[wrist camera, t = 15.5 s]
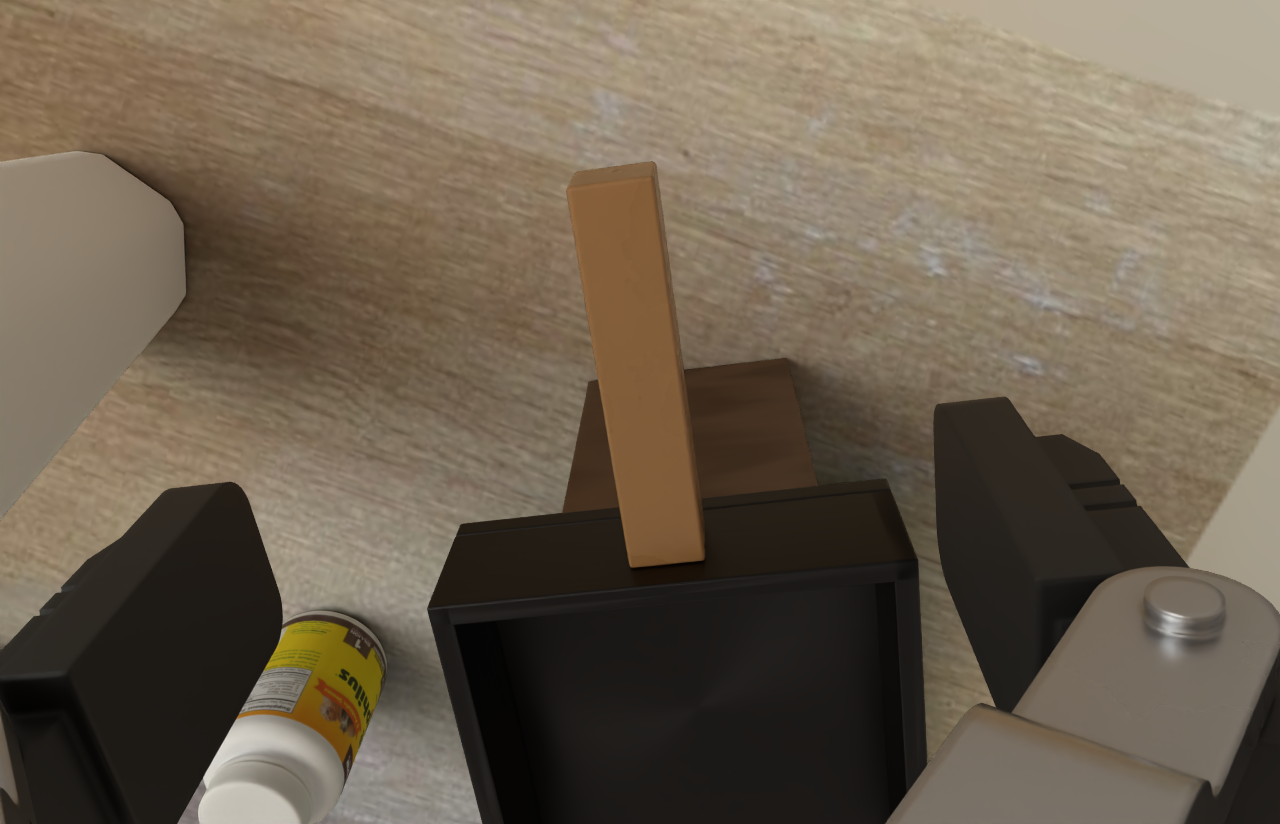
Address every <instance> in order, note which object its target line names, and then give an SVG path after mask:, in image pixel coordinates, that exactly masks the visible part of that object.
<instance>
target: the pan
mask: <svg viewBox="0 0 1280 824" xmlns="http://www.w3.org/2000/svg"><path fill="white" fill-rule="evenodd" d="M566 192H567V198H568V204H569V210H570V216H571V221H572V227H573V233H574V239H575V245H576V251H577V257H578V263H579V269H580V275H581V281H582V287H583V293H584V299H585V305H586V311H587V317H588V323H589V329H590V335H591V341H592V347H593V353H594V359H595V364H596V370H597V376H598V382H599V388H600V394H601V400H602V406H603V412H604V418H605V424H606V430H607V436H608V442H609V448H610V454H611V460H612V466H613V472H614V478H615V484H616V490H617V496H618V502H619V507H614V508H605V509H595V510H586V511H577V512H567V513H558V514H548V515H539V516H530V517H520V518H511V519H502V520H492V521H483V522H474V523H464V524H461V525H460V527H459V530H458V532H457V535H456V537H455V539H454V542H453V544H452V547H451V549H450V552H449V554H448V557H447V560H446V562H445V565H444V567H443V570H442V572H441V575H440V577H439V580H438V582H437V585H436V587H435V590H434V592H433V595H432V597H431V600H430V602H429V605H428V608H427V610H428V614H429V618H430V622H431V626H432V630H433V634H434V638H435V641H436V645H437V649H438V653H439V657H440V661H441V665H442V669H443V672H444V676H445V680H446V684H447V688H448V692H449V696H450V700H451V704H452V707H453V711H454V715H455V719H456V723H457V727H458V731H459V735H460V738H461V742H462V746H463V750H464V754H465V758H466V762H467V766H468V769H469V773H470V777H471V781H472V785H473V789H474V793H475V797H476V800H477V804H478V808H479V812H480V816H481V820H482V824H885V823H886V822H887V820H888V819H889V818H890V816H891V815H892V813H893V812H894V811H895V809H896V808H897V807H898V805H899V804H900V802H901V801H902V800H903V798H904V797H905V795H906V794H907V793H908V791H909V790H910V789H911V787H912V786H913V784H914V783H915V782H916V780H917V779H918V777H919V776H920V775H921V773H922V772H923V771H924V769H925V768H926V766H927V743H926V721H925V699H924V678H923V656H922V634H921V612H920V590H919V568H918V559H917V556H916V553H915V551H914V548H913V546H912V543H911V540H910V538H909V535H908V533H907V530H906V528H905V525H904V522H903V520H902V517H901V515H900V512H899V510H898V507H897V504H896V502H895V499H894V497H893V494H892V492H891V489H890V487H889V484H888V481H887V480H886V479H876V480H866V481H857V482H848V483H838V484H829V485H820V486H810V487H801V488H792V489H782V490H773V491H764V492H754V493H745V494H735V495H726V496H717V497H707V498H701V495H700V487H699V480H698V472H697V465H696V457H695V450H694V442H693V435H692V427H691V420H690V412H689V405H688V398H687V390H686V383H685V375H684V368H683V360H682V353H681V345H680V338H679V330H678V323H677V315H676V308H675V300H674V293H673V285H672V278H671V270H670V263H669V255H668V248H667V240H666V233H665V225H664V218H663V211H662V203H661V196H660V188H659V181H658V173H657V166H656V163H655V162H652V161H651V162H643V163H636V164H629V165H621V166H614V167H607V168H599V169H592V170H585V171H578V172H576V173H575V174H574V176H573V178H572V180H571V182H570V184H569V185H568V187H567V191H566Z"/></svg>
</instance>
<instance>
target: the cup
mask: <svg viewBox="0 0 1280 824" xmlns="http://www.w3.org/2000/svg"><path fill="white" fill-rule="evenodd" d="M185 295H186V276H185V251H184V227H183V223H182V221H181V219H180V217H179V216H178V214H177V212H176V211H175V209H174V207H173V205H172V204H171V202H170V201H169V200H167V199H166V198H164V197H163V196H162V195H160V194H159V193H157V192H156V191H154V190H153V189H152V188H150V187H149V186H147V185H146V184H144V183H143V182H141V181H140V180H139V179H137V178H136V177H134V176H133V175H131V174H130V173H128V172H127V171H126V170H124V169H123V168H121V167H120V166H118V165H117V164H116V163H114V162H113V161H111V160H110V159H108V158H107V157H105V156H104V155H102V154H95V153H88V152H82V151H73V152H66V153H59V154H52V155H45V156H38V157H31V158H24V159H17V160H10V161H3V162H0V520H1V519H2V518H3V517H4V516H5V514H6V513H7V512H8V511H9V510H10V509H11V507H12V506H13V505H14V504H15V503H16V501H17V500H18V499H19V498H20V497H21V495H22V494H23V493H24V492H25V491H26V489H27V488H28V487H29V486H30V485H31V483H32V482H33V481H34V480H35V479H36V477H37V476H38V475H39V474H40V473H41V471H42V470H43V469H44V468H45V467H46V465H47V464H48V463H49V462H50V461H51V460H52V458H53V457H54V456H55V455H56V454H57V452H58V451H59V450H60V449H61V448H62V446H63V445H64V444H65V443H66V442H67V440H68V439H69V438H70V437H71V436H72V434H73V433H74V432H75V431H76V430H77V428H78V427H79V426H80V425H81V424H82V422H83V421H84V420H85V419H86V418H87V417H88V415H89V414H90V413H91V412H92V411H93V409H94V408H95V407H96V406H97V405H98V403H99V402H100V401H101V400H102V399H103V397H104V396H105V395H106V394H107V393H108V391H109V390H110V389H111V388H112V387H113V385H114V384H115V383H116V382H117V381H118V379H119V378H120V377H121V376H122V375H123V373H124V372H125V371H126V370H127V369H128V368H129V366H130V365H131V364H132V363H133V362H134V360H135V359H136V358H137V357H138V356H139V354H140V353H141V352H142V351H143V350H144V348H145V347H146V346H147V345H148V344H149V342H150V341H151V340H152V339H153V338H154V336H155V335H156V334H157V333H158V332H159V330H160V329H161V328H162V327H163V326H164V325H165V323H166V322H167V321H168V320H169V319H170V317H171V316H172V315H173V314H174V313H175V311H176V310H177V308H178V306H179V305H180V303H181V302H182V300H183V298H184V297H185Z"/></svg>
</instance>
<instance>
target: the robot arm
mask: <svg viewBox="0 0 1280 824" xmlns="http://www.w3.org/2000/svg"><path fill="white" fill-rule="evenodd" d="M934 459H935V490H936V521H937V538H938V547H939V554H940V559H941V564H942V569H943V573H944V577H945V580H946V583H947V586H948V589H949V591H950V594H951V596H952V599H953V601H954V604H955V606H956V609H957V611H958V613H959V616H960V618H961V621H962V623H963V626H964V628H965V631H966V633H967V636H968V638H969V641H970V643H971V646H972V648H973V651H974V653H975V656H976V658H977V661H978V663H979V666H980V668H981V671H982V673H983V676H984V678H985V681H986V683H987V686H988V688H989V691H990V693H991V696H992V698H993V701H994V703H995V706H996V707H993V706H990V705H987V704H984V703H980V704H977V705H975V706H973V707H972V708H970V709H969V710H968V711H967V712H966V713H965V714H964V716H963V717H962V718H961V719H960V721H959V722H958V723H957V725H956V726H955V728H954V729H953V730H952V732H951V733H950V734H949V736H948V737H947V739H946V740H945V741H944V743H943V744H942V746H941V747H940V748H939V750H938V751H937V752H936V754H935V755H934V757H933V758H932V759H931V761H930V762H929V764H928V765H927V766H926V768H925V769H924V771H923V772H922V773H921V775H920V776H919V777H918V779H917V780H916V782H915V783H914V784H913V786H912V787H911V789H910V790H909V791H908V793H907V794H906V795H905V797H904V798H903V800H902V801H901V802H900V804H899V805H898V807H897V808H896V809H895V811H894V812H893V813H892V815H891V816H890V818H889V819H888V820H887V822H886V823H885V824H1280V614H1279V612H1278V611H1277V610H1276V609H1275V607H1274V606H1273V605H1272V604H1271V603H1270V602H1269V601H1268V600H1267V599H1266V598H1264V597H1263V596H1262V595H1260V594H1259V593H1257V592H1256V591H1255V590H1253V589H1251V588H1250V587H1248V586H1246V585H1244V584H1242V583H1240V582H1237V581H1235V580H1233V579H1230V578H1227V577H1225V576H1222V575H1218V574H1215V573H1211V572H1208V571H1202V570H1197V569H1192V568H1189V566H1188V565H1187V564H1186V563H1185V561H1184V560H1183V559H1182V558H1181V556H1180V555H1179V554H1178V553H1177V551H1176V550H1175V549H1174V548H1173V546H1172V545H1171V544H1170V542H1169V541H1168V540H1167V539H1166V537H1165V536H1164V535H1163V534H1162V532H1161V531H1160V530H1159V529H1158V527H1157V526H1156V525H1155V524H1154V522H1153V521H1152V520H1151V518H1150V517H1149V516H1148V515H1147V513H1146V512H1145V511H1144V510H1143V508H1142V507H1141V506H1137V503H1136V500H1135V498H1134V497H1133V496H1132V494H1131V493H1130V492H1129V491H1128V489H1127V488H1126V487H1125V486H1124V484H1123V485H1120V479H1119V478H1118V477H1117V476H1116V474H1115V473H1114V472H1113V470H1112V469H1111V468H1110V467H1109V465H1108V464H1107V463H1106V462H1105V460H1104V459H1103V458H1102V457H1101V455H1100V454H1099V453H1097V452H1095V451H1093V450H1091V449H1089V448H1087V447H1085V446H1083V445H1082V444H1080V443H1078V442H1076V441H1074V440H1072V439H1070V438H1068V437H1066V436H1065V435H1063V434H1059V435H1050V436H1041V437H1035V436H1034V435H1033V433H1032V432H1031V430H1030V429H1029V428H1028V426H1027V425H1026V423H1025V422H1024V420H1023V419H1022V417H1021V416H1020V415H1019V413H1018V412H1017V410H1016V409H1015V407H1014V406H1013V404H1012V403H1011V402H1010V400H1009V399H1008V398H1007V397H996V398H987V399H978V400H969V401H961V402H952V403H943V404H937V405H936V407H935V411H934ZM61 589H62V591H61V593H55V595H54V596H53V597H52V598H51V599H50V600H49V601H48V602H47V603H46V604H45V605H44V606H43V607H42V608H41V609H40V610H39V611H40V616H34V617H33V618H32V619H31V620H30V621H29V622H28V623H27V624H26V625H25V626H24V627H23V628H22V629H21V631H20V632H19V633H18V634H17V635H16V636H15V637H14V638H13V639H12V640H11V641H10V642H9V643H8V644H7V645H6V646H5V647H4V649H3V650H2V651H1V652H0V824H177V823H178V821H179V819H180V817H181V816H182V814H183V812H184V810H185V809H186V807H187V805H188V803H189V802H190V800H191V798H192V796H193V794H194V793H195V791H196V789H197V787H198V786H199V784H200V782H201V780H202V779H203V777H204V775H205V773H206V771H207V770H208V768H209V766H210V764H211V763H212V761H213V759H214V757H215V756H216V754H217V752H218V750H219V749H220V747H221V745H222V743H223V741H224V740H225V738H226V736H227V734H228V733H229V731H230V729H231V727H232V726H233V724H234V722H235V720H236V719H237V717H238V715H239V713H240V711H241V710H242V708H243V706H244V704H245V703H246V701H247V699H248V697H249V696H250V694H251V692H252V690H253V688H254V687H255V685H256V683H257V681H258V680H259V678H260V676H261V674H262V673H263V671H264V669H265V667H266V666H267V664H268V662H269V660H270V658H271V657H272V655H273V653H274V651H275V650H276V648H277V645H278V643H279V640H280V636H281V631H282V621H283V613H282V602H281V597H280V593H279V590H278V587H277V584H276V581H275V578H274V575H273V572H272V569H271V566H270V563H269V560H268V557H267V554H266V551H265V548H264V545H263V542H262V539H261V536H260V533H259V530H258V527H257V524H256V521H255V518H254V515H253V512H252V509H251V506H250V503H249V501H248V498H247V496H246V494H245V492H244V491H243V490H242V488H241V487H240V486H239V485H237V484H236V483H233V482H225V483H216V484H207V485H198V486H189V487H180V488H171V489H168V490H166V491H164V492H163V493H162V494H161V495H160V496H159V497H158V498H157V499H156V500H155V501H154V503H153V504H152V505H151V506H150V507H149V508H148V509H147V510H146V511H145V512H144V513H143V514H142V516H141V517H140V518H139V519H138V520H137V521H136V522H135V523H134V524H133V525H132V526H131V527H130V529H129V530H128V531H127V532H126V533H125V534H124V535H123V536H122V537H121V538H120V539H118V540H117V541H115V542H114V543H112V544H111V545H109V546H108V547H106V548H105V549H103V550H102V551H100V552H98V553H97V554H95V555H94V556H92V557H91V558H89V559H88V560H87V561H86V562H85V563H84V564H83V565H82V566H81V567H80V568H79V569H78V570H77V571H76V572H75V573H74V574H73V575H72V577H71V578H70V579H69V580H68V581H67V582H66V583H65V584H64V585H63V586H62V587H61Z"/></svg>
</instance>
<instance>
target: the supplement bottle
mask: <svg viewBox="0 0 1280 824" xmlns="http://www.w3.org/2000/svg"><path fill="white" fill-rule="evenodd" d="M386 675H387V660H386V656H385V653H384V650H383V648H382V646H381V644H380V642H379V640H378V639H377V638H376V636H375V635H374V634H373V633H372V632H371V631H370V630H369V629H368V628H367V627H366V626H364V625H363V624H362V623H360V622H358V621H357V620H355V619H353V618H351V617H349V616H346V615H343V614H340V613H336V612H331V611H311V612H305V613H302V614H299V615H296V616H294V617H292V618H290V619H288V620H287V621H285V622H284V623H283V624H282V631H281V636H280V640H279V643H278V645H277V648H276V650H275V651H274V653H273V655H272V657H271V658H270V660H269V662H268V664H267V666H266V667H265V669H264V671H263V673H262V674H261V676H260V678H259V680H258V681H257V683H256V685H255V687H254V688H253V690H252V692H251V694H250V696H249V697H248V699H247V701H246V703H245V704H244V706H243V708H242V710H241V711H240V713H239V715H238V717H237V719H236V720H235V722H234V724H233V726H232V727H231V729H230V731H229V733H228V734H227V736H226V738H225V740H224V741H223V743H222V745H221V747H220V749H219V750H218V752H217V754H216V756H215V757H214V759H213V761H212V763H211V764H210V766H209V768H208V770H207V771H206V773H205V775H204V777H203V779H204V783H205V786H206V788H207V791H206V792H205V794H204V796H203V798H202V800H201V802H200V805H199V810H198V816H199V822H200V824H315V823H317V822H318V821H320V820H322V819H323V818H324V817H325V816H326V815H328V814H329V812H330V811H331V810H332V809H333V808H334V806H335V805H336V803H337V801H338V799H339V797H340V795H341V793H342V791H343V788H344V785H345V783H346V780H347V778H348V775H349V773H350V770H351V767H352V765H353V762H354V760H355V757H356V755H357V752H358V750H359V747H360V745H361V742H362V740H363V737H364V735H365V732H366V730H367V727H368V725H369V722H370V719H371V717H372V714H373V712H374V709H375V707H376V704H377V702H378V699H379V697H380V694H381V691H382V689H383V686H384V683H385V680H386Z"/></svg>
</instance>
